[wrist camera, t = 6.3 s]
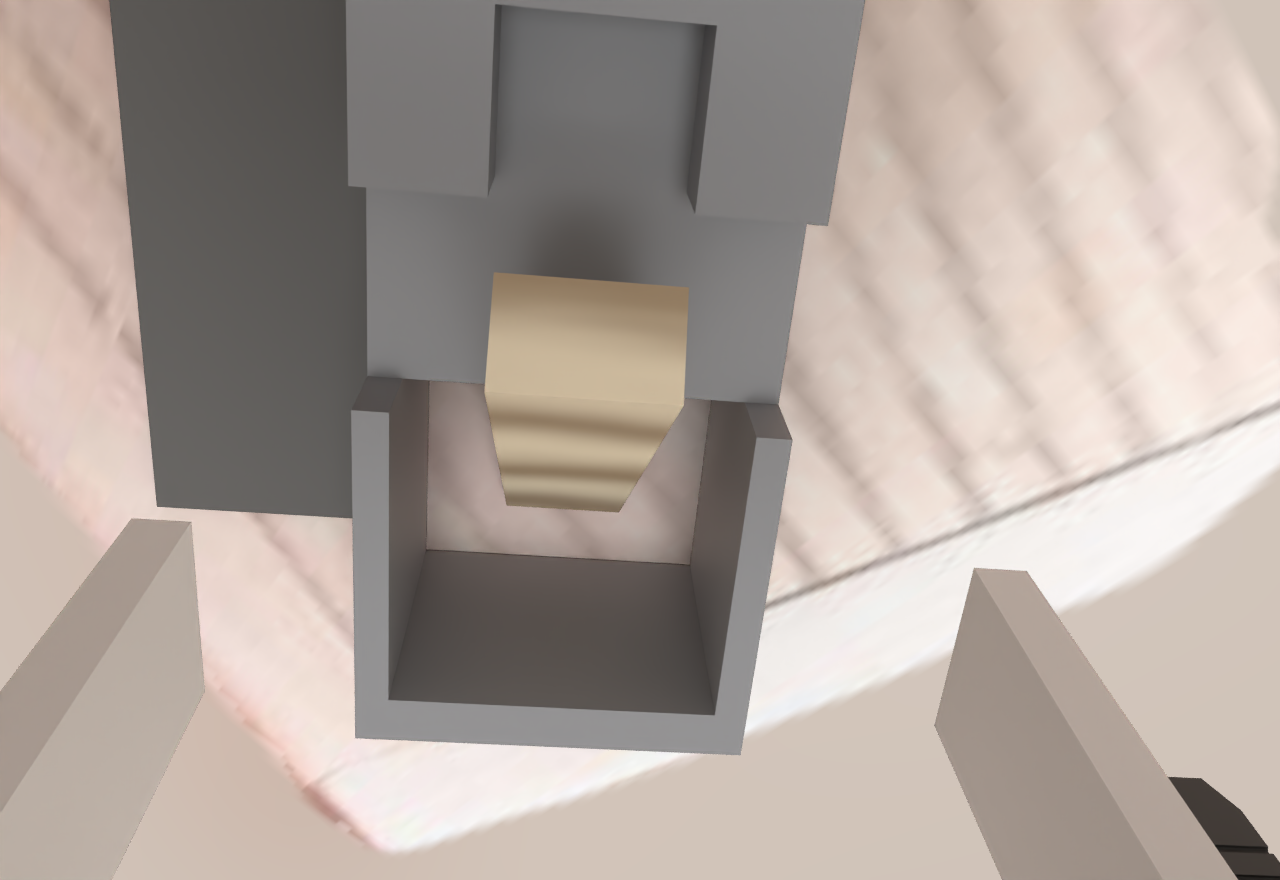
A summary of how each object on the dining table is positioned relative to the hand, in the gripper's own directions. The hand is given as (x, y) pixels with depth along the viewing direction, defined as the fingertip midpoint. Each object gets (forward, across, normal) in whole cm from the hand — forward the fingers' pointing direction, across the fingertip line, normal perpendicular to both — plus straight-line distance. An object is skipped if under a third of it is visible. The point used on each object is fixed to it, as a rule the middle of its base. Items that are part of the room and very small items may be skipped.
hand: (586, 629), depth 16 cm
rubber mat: (+24, -10, -2) cm, 26 cm away
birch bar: (+17, 0, -3) cm, 17 cm away
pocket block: (+24, 0, -4) cm, 24 cm away
